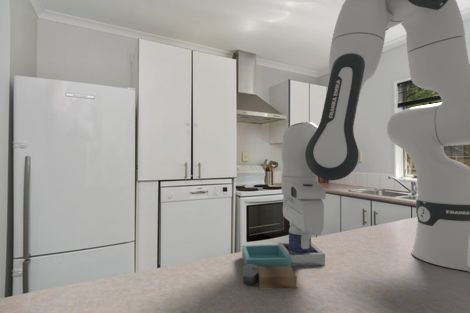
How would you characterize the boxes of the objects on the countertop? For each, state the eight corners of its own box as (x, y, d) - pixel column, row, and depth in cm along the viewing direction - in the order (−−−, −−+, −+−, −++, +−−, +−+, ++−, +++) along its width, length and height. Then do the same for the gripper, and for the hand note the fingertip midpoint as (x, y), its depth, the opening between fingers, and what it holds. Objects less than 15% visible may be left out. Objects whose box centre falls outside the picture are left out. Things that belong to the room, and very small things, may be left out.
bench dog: (256, 278, 52) (256, 263, 52) (259, 285, 49) (259, 269, 49) (242, 279, 52) (242, 264, 52) (243, 286, 49) (243, 270, 49)
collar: (310, 251, 68) (310, 242, 68) (325, 264, 59) (325, 254, 59) (277, 252, 68) (277, 242, 68) (287, 265, 59) (287, 254, 59)
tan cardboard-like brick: (289, 278, 53) (289, 266, 53) (296, 289, 48) (296, 276, 48) (256, 278, 53) (256, 266, 53) (259, 290, 48) (259, 277, 48)
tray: (280, 256, 65) (280, 244, 65) (291, 273, 55) (291, 258, 55) (242, 257, 64) (242, 245, 64) (246, 274, 54) (246, 260, 54)
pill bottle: (312, 263, 60) (311, 221, 61) (289, 261, 61) (288, 220, 62) (310, 255, 66) (309, 217, 66) (288, 253, 67) (288, 216, 67)
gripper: (277, 184, 74) (277, 232, 74) (300, 192, 54) (300, 258, 53) (298, 184, 75) (298, 232, 74) (329, 192, 54) (329, 258, 54)
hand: (299, 243), depth 64 cm, fingers closed on pill bottle, 5 cm apart
